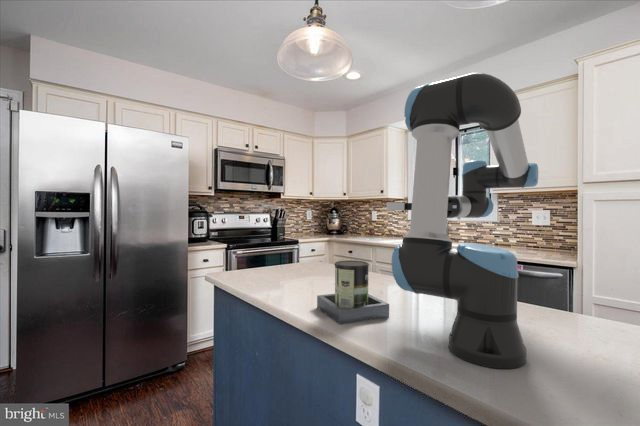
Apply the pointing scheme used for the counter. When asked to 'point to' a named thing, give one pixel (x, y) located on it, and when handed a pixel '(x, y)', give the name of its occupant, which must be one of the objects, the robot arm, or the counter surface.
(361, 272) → the coffee can
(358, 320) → the tray
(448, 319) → the counter surface
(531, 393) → the counter surface
